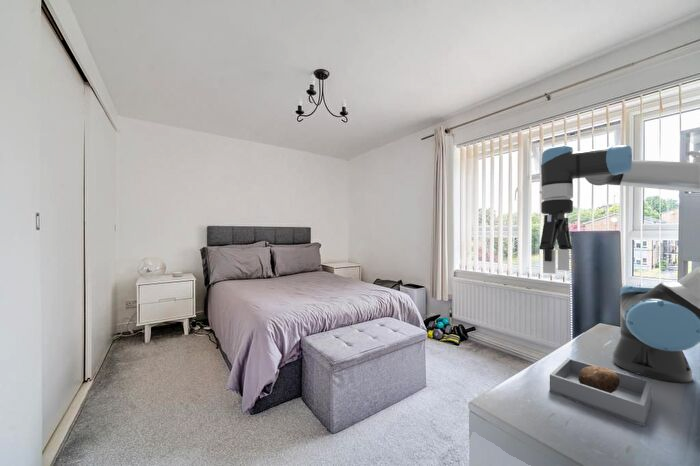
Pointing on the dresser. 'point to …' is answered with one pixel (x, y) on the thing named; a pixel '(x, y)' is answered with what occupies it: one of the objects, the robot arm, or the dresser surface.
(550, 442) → the dresser surface
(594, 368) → the mushroom
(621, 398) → the tray
